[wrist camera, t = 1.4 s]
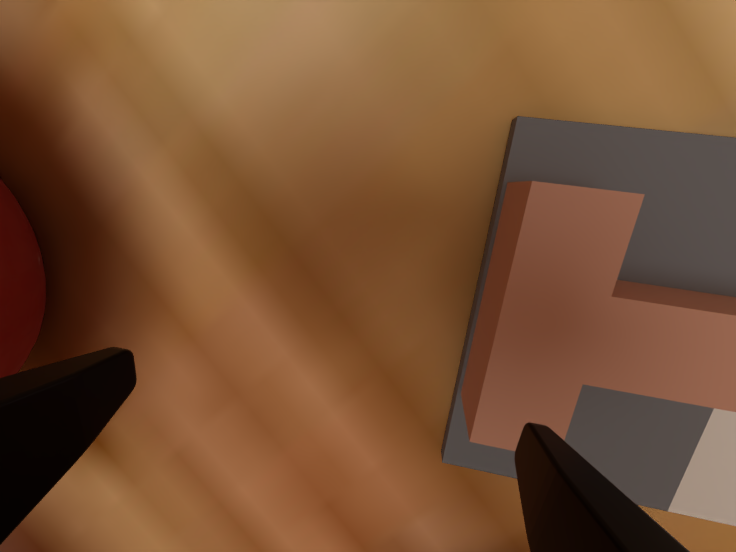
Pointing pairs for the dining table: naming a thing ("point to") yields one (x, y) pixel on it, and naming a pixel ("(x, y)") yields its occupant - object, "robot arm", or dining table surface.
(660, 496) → the board
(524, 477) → the robot arm
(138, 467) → the dining table surface
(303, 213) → the dining table surface
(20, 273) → the mixing bowl
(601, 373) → the t block
